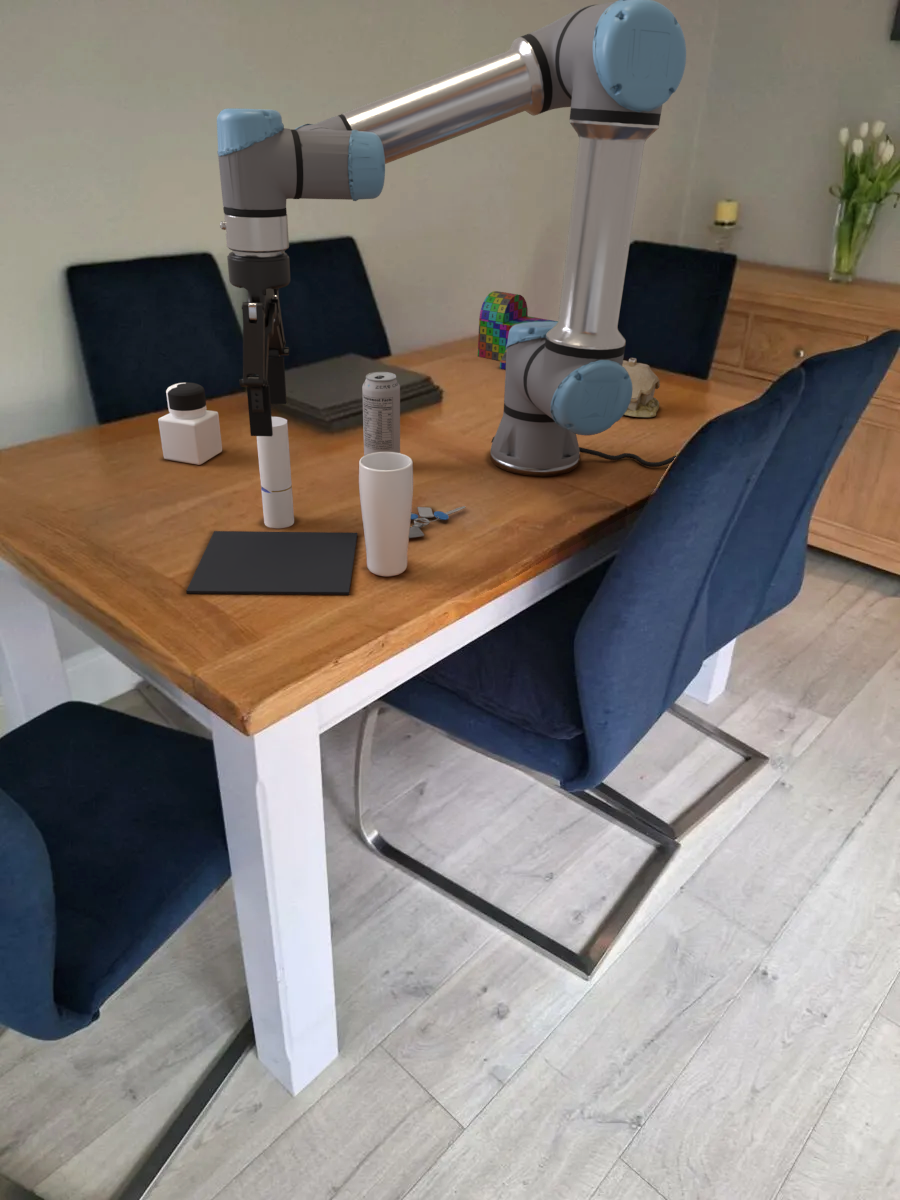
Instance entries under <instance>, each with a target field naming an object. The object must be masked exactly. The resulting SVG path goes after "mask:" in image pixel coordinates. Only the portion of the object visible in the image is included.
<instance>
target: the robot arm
mask: <svg viewBox="0 0 900 1200" xmlns="http://www.w3.org/2000/svg"><path fill="white" fill-rule="evenodd" d="M686 63H687V44H686V38H685V33H684V31H683V29H682V26H681V24H680V23H679V22H678V20H677V18H676V16H675V15H674V14H673V12H672V11H671V10H670V9H669V8H668V7H666V6H665V5H664V4H662V3H661V2H658V1H657V0H615V1H610V2H605V3H599V4H590V5H586V6H583V7H580V8H577V9H575V10H573V11H571V12H569V13H567V14H566V15H563V16H561V17H560V18H558V19H556V20H554V21H553V22H551V23H548V24H546V25H544V26H542V27H539V28H537V29H536V30H534V31H531V32H529V33H527V34H523V35H522V36H518V37H516V38H515V39H514V40H513V41H512V43H511V46H510V48H509V50H506V51H504V52H500V53H498V54H496V55H493V56H490V57H487V58H485V59H483V60H480V61H477V62H475V63H472V64H469V65H466V66H464V67H460V68H458V69H456V70H453V71H450V72H448V73H445V74H443V75H440V76H437V77H434V78H432V79H430V80H427V81H424V82H421V83H419V84H416V85H413V86H411V87H408V88H405V89H403V90H400V91H397V92H395V93H392V94H389V95H387V96H384V97H381V98H379V99H377V100H374V101H371V102H368V103H366V104H363V105H360V106H358V107H355V108H353V109H352V108H351V109H350V110H347V111H345V112H342V113H340V114H338V115H334V116H331V117H329V118H326V119H323V120H321V121H318V122H316V123H304V124H302V125H299V126H298V127H295V128H294V129H290V128H288V127H287V128H286V127H285V125H284V123H283V117H282V114H281V113H280V112H279V111H278V110H276V109H263V108H262V109H261V108H260V109H259V108H242V107H241V108H236V107H235V108H234V107H233V108H231V107H230V108H229V107H228V108H224V109H222V110H221V111H220V112H219V113H218V115H217V117H216V133H217V134H216V135H217V158H218V169H219V178H220V189H221V198H222V208H223V214H224V215H223V216H224V220H222V221H220V224H219V228H221V230H223V231H226V233H225V241H226V247H227V248H228V249H229V250H230V251H231V252H229V253H228V255H227V256H226V258H227V269H228V281H229V283H230V284H231V285H232V286H233V287H236V288H239V289H245V290H246V291H247V299H246V301H242V303H241V310H242V379H239V387H241V388H246V394H247V404H248V405H247V407H248V418H249V432H250V437H257V436H272V435H273V430H272V417H273V416H272V405H274V404H275V405H287V388H286V384H287V383H286V371H285V356H290V347H288V346H286V344H287V343H286V339H285V338H286V337H285V331H284V324H283V317H282V309H281V303H280V294H279V293H280V292H279V290H280V289H282V288H285V287H287V286H289V284H290V283H291V267H290V266H291V265H290V256H289V255H288V253H287V252H285V251H286V250H288V249H289V247H290V241H289V240H290V239H289V238H290V237H289V222H288V221H289V220H288V213H287V200H300V199H304V200H305V199H308V200H346V201H347V200H352V201H353V202H357V201H360V200H373V199H376V198H378V197H379V196H380V195H381V194H382V192H383V189H384V186H385V177H386V165H387V164H390V163H392V162H394V161H397V160H400V159H403V158H405V157H407V156H410V155H413V154H416V153H418V152H422V151H424V150H426V149H429V148H432V147H435V146H437V145H439V144H442V143H445V142H447V141H450V140H453V139H454V138H457V137H460V136H463V135H466V134H468V133H470V132H473V131H476V130H478V129H482V128H484V127H487V126H489V125H492V124H494V123H497V122H499V121H502V120H505V119H507V118H510V117H513V116H516V115H518V114H521V113H523V112H526V113H528V114H529V115H531V116H533V117H535V116H538V115H540V114H543V113H545V112H548V111H552V110H557V109H562V108H563V109H564V108H570V112H569V125H571V127H572V128H573V130H574V132H575V133H576V134H577V137H578V144H577V151H576V152H577V153H576V162H575V169H574V177H573V187H572V196H571V198H572V199H571V203H570V204H571V205H570V214H569V223H568V231H567V241H566V249H565V250H566V251H565V258H564V265H563V266H564V267H563V275H562V284H561V293H560V302H559V303H560V304H559V310H558V319H557V321H558V322H527V323H520V324H516V325H514V326H512V327H511V329H510V330H509V334H508V341H507V345H506V349H507V354H506V369H505V374H504V375H505V376H504V396H503V398H504V399H503V412H502V417H501V419H500V422H499V425H498V427H497V430H496V433H495V435H494V436H493V437H492V439H491V442H490V443H491V445H490V450H489V451H490V454H489V459H490V462H491V463H492V464H493V465H494V466H496V467H498V468H500V469H501V470H503V471H506V472H509V473H513V474H517V475H522V476H523V475H524V476H529V477H551V476H558V475H563V474H567V473H569V472H572V471H574V470H576V469H577V468H578V467H579V465H580V460H581V459H580V458H581V453H583V454H587V455H590V456H596V457H599V458H602V459H604V460H605V459H606V460H609V461H621V460H623V459H631V460H634V461H636V462H638V463H639V464H640V465H642V466H644V467H646V468H647V467H648V468H660V467H664V466H666V465H669V464H672V463H673V462H672V461H673V460H674V458H675V457H676V455H677V454H675V455H673V456H671V457H669V458H667V459H664V460H661V461H647V460H645V459H643V458H641V456H639V455H637V454H635V453H630V452H623V453H621V454H616V455H613V454H608V453H604V452H601V451H598V450H594V449H590V448H585V447H581V446H579V445H580V444H579V440H578V437H577V435H578V436H595V435H598V434H601V433H603V432H605V431H607V430H609V429H610V428H612V426H613V425H614V424H615V423H617V422H619V421H620V420H621V419H622V417H623V416H625V415H624V413H625V412H626V410H627V408H628V406H629V404H630V401H631V397H632V381H631V378H630V376H629V375H628V372H627V371H626V369H625V368H624V367H623V366H622V364H623V360H624V357H625V351H626V345H627V343H626V342H627V341H626V339H625V337H624V336H623V335H622V333H621V332H620V331H619V328H618V325H619V319H620V311H621V305H622V299H623V293H624V285H625V279H626V272H627V265H628V259H629V251H630V244H631V237H632V230H633V224H634V217H635V212H636V210H635V209H636V204H637V196H638V191H639V182H640V175H641V171H642V163H643V157H644V151H645V150H644V149H645V144H646V141H647V140H648V139H649V138H650V137H651V136H652V135H653V134H654V133H655V132H657V131H658V129H659V128H660V123H661V115H662V111H663V105H664V104H665V103H666V102H668V101H669V99H670V98H671V96H672V95H673V94H674V93H676V91H677V90H678V88H679V86H680V84H681V81H682V79H683V77H684V73H685V69H686Z"/></svg>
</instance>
